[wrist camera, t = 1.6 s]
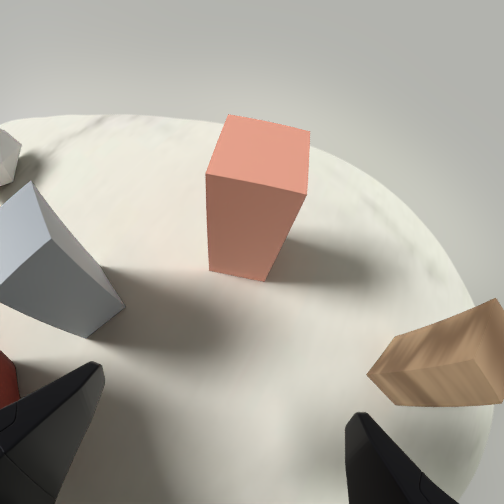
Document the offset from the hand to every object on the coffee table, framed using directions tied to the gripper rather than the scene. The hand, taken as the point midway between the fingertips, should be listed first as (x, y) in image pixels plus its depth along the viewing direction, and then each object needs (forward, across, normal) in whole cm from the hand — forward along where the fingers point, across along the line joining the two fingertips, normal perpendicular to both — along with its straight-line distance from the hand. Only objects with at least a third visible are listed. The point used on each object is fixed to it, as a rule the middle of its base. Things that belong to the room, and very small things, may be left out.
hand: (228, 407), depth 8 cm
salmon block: (+18, +1, +1) cm, 19 cm away
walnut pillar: (+12, -16, +8) cm, 22 cm away
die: (+21, +37, -1) cm, 43 cm away
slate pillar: (+13, +13, +7) cm, 20 cm away
